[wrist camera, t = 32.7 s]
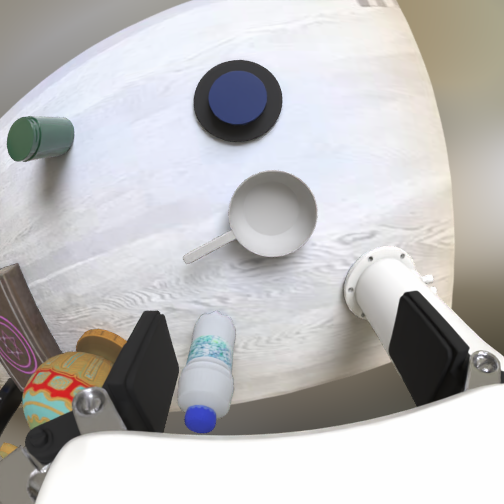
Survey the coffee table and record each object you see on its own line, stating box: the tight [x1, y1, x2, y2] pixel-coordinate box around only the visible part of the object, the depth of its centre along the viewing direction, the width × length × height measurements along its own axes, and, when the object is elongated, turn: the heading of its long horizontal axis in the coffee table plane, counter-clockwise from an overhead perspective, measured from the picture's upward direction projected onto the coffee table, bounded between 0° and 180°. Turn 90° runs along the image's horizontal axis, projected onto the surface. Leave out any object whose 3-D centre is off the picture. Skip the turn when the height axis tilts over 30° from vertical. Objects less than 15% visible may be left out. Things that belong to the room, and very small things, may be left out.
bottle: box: [177, 311, 236, 433], centre depth 35 cm, size 7×7×20 cm
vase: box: [0, 329, 127, 458], centre depth 33 cm, size 20×20×30 cm
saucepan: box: [183, 170, 317, 264], centre depth 36 cm, size 11×18×4 cm, turn 118°
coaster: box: [194, 60, 282, 142], centre depth 32 cm, size 11×11×1 cm
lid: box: [209, 71, 267, 126], centre depth 31 cm, size 7×7×2 cm
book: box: [0, 263, 62, 392], centre depth 44 cm, size 30×22×5 cm
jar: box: [7, 116, 74, 162], centre depth 28 cm, size 6×6×9 cm
